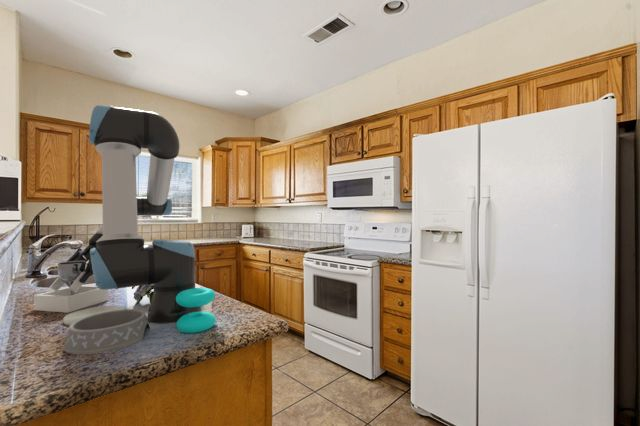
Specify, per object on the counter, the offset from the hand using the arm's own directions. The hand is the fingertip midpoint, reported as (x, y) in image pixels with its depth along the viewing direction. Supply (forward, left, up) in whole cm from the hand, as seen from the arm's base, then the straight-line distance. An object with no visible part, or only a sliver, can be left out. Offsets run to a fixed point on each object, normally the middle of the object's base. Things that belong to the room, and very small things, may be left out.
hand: (62, 289), depth 106 cm
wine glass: (0, -3, -6) cm, 7 cm away
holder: (0, -3, -6) cm, 7 cm away
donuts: (-57, +8, -6) cm, 58 cm away
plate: (-20, +6, -6) cm, 22 cm away
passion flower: (-26, -10, -6) cm, 29 cm away
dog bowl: (-40, +18, -7) cm, 44 cm away
